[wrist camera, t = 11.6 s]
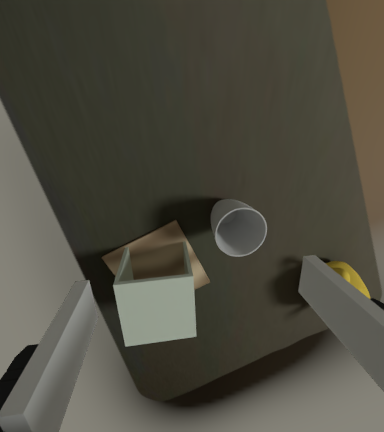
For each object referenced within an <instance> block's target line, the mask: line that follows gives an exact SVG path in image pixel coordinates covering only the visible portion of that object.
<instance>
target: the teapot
mask: <svg viewBox="0 0 384 432" xmlns="http://www.w3.org/2000/svg"><path fill="white" fill-rule="evenodd" d="M325 264H327V265H328V266H329V267H330V268H332V269H333V270H334V271H335V272H336V273H338V274H339V275H340V276H341V277H343V278H344V279H345V280H346V281H348V282H349V283H350V284H351V285H353V286H354V287H355V288H356V289H358V290H359V291H360V292H361V293H363V294H364V295H365V296H366V297H368V298H369V299H370V296H369V292H368V290H367V288H366V286H365V285H364V283H363V281H362V280H361V278H360V277H359V275H358V274H357V273H356V272H355V271H354V270H353V269H352V268H351V267H350V266H349V265H348V264H346V263H344V262H340V261H332V262H328V263H325Z"/></svg>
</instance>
